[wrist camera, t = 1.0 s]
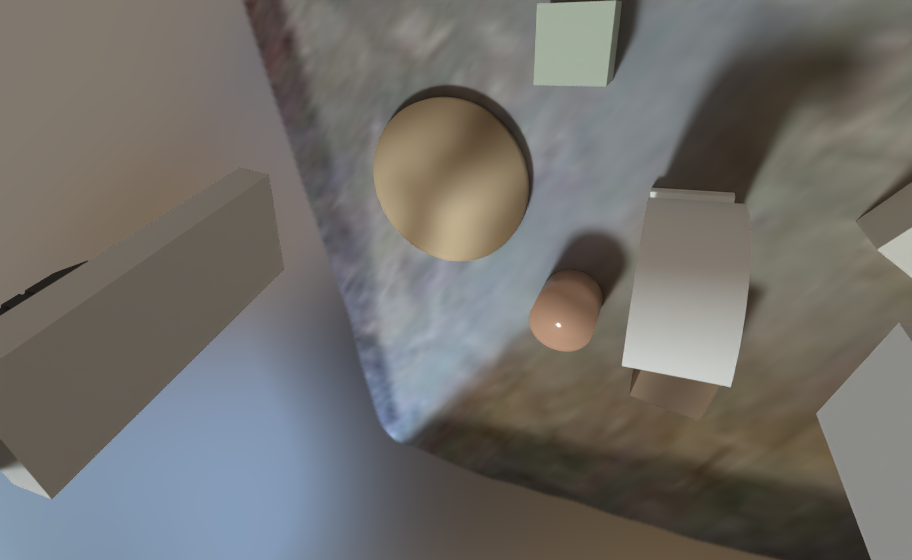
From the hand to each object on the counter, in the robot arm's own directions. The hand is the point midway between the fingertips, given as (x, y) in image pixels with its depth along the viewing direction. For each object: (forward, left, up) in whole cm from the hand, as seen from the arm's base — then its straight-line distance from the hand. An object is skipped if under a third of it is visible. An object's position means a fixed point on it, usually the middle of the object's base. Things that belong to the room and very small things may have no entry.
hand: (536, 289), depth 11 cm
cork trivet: (+9, +10, -22) cm, 26 cm away
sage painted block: (+5, -2, -22) cm, 23 cm away
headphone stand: (-6, +4, -22) cm, 24 cm away
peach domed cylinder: (-3, +13, -22) cm, 26 cm away
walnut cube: (-11, +12, -22) cm, 28 cm away
